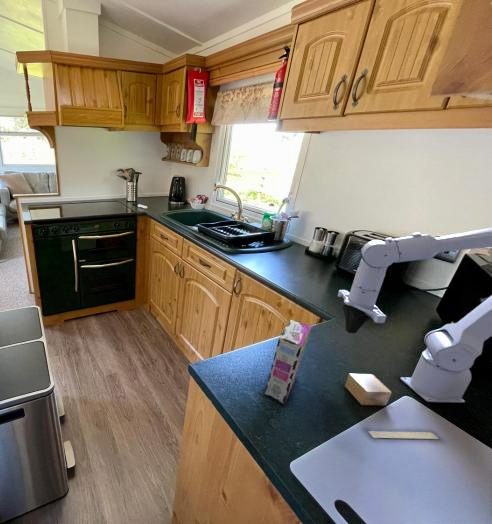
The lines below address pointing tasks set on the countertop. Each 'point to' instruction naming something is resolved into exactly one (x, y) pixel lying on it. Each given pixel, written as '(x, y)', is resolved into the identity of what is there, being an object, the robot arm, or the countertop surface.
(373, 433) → the tape line
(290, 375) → the candy bar box
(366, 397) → the maple block
